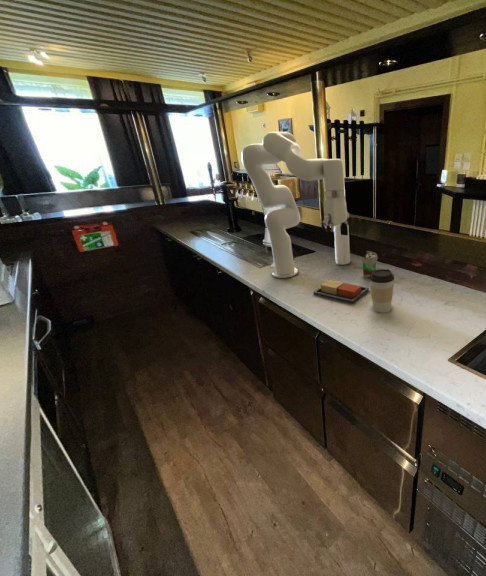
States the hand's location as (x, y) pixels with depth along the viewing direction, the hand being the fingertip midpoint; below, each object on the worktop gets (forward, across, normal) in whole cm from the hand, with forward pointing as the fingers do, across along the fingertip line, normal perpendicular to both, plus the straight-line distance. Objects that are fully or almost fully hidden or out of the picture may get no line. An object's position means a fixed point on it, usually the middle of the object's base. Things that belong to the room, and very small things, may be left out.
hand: (337, 237), depth 122 cm
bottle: (+24, -30, -18) cm, 42 cm away
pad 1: (+23, +3, -2) cm, 23 cm away
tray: (+23, +3, +2) cm, 24 cm away
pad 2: (+23, +3, +6) cm, 24 cm away
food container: (+24, -21, +4) cm, 32 cm away
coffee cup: (+24, +7, +23) cm, 34 cm away
